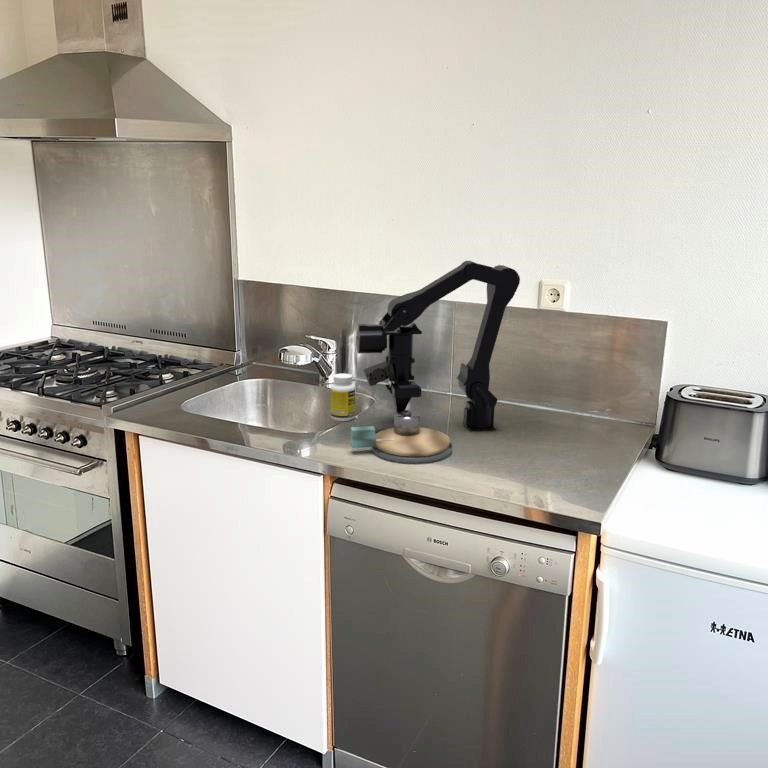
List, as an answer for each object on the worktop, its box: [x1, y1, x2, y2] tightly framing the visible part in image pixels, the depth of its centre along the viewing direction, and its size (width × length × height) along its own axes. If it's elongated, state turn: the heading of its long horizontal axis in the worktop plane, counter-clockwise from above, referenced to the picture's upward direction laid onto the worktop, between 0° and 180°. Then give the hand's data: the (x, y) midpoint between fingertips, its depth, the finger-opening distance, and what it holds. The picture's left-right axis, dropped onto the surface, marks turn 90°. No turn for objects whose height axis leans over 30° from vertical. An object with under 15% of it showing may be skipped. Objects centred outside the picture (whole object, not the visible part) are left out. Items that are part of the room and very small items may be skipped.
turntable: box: [350, 425, 451, 457], centre depth 169 cm, size 22×17×4 cm
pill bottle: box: [330, 373, 356, 422], centre depth 191 cm, size 6×6×11 cm
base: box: [370, 442, 453, 465], centre depth 171 cm, size 18×18×1 cm
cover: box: [393, 409, 421, 436], centre depth 174 cm, size 6×6×5 cm
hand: (399, 416), depth 183 cm, fingers closed
